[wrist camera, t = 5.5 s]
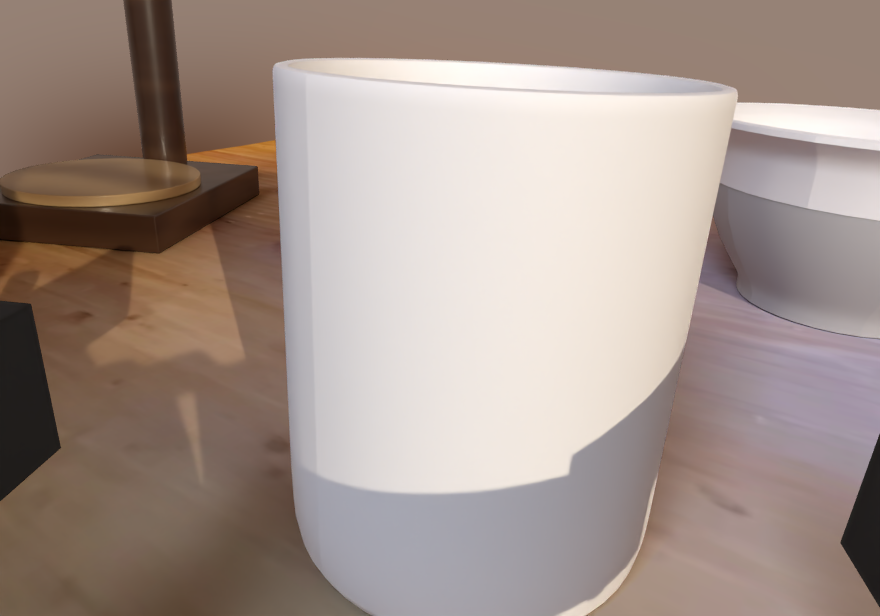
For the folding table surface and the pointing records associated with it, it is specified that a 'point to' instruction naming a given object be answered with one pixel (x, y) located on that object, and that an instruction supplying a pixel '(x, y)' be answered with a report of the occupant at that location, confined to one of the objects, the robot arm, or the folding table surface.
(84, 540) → the folding table surface
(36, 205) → the mug stand
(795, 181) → the bowl
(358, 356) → the mug
